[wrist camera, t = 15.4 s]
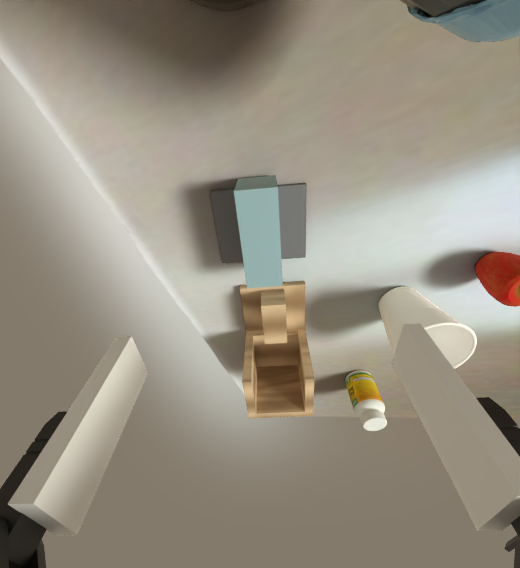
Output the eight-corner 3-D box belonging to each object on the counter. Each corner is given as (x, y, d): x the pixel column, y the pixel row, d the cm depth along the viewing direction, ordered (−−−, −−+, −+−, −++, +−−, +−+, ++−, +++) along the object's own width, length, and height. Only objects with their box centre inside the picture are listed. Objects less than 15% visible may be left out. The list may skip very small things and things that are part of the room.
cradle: (240, 285, 41) (233, 334, 32) (304, 280, 41) (316, 330, 32) (251, 363, 51) (249, 418, 42) (303, 360, 50) (312, 415, 41)
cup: (369, 330, 46) (396, 384, 37) (361, 285, 41) (390, 335, 32) (430, 315, 44) (474, 368, 35) (429, 266, 39) (481, 313, 30)
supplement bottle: (371, 384, 54) (391, 431, 46) (345, 387, 55) (359, 435, 47) (371, 367, 51) (391, 414, 43) (343, 371, 52) (358, 418, 44)
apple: (492, 284, 41) (534, 315, 35) (456, 277, 40) (492, 307, 34) (522, 248, 38) (574, 275, 31) (484, 239, 37) (530, 265, 31)
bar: (238, 178, 32) (233, 190, 27) (275, 175, 32) (277, 187, 27) (249, 265, 38) (247, 288, 33) (279, 263, 38) (282, 285, 33)
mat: (210, 190, 34) (209, 192, 33) (305, 182, 33) (306, 184, 32) (222, 260, 39) (222, 263, 38) (304, 254, 38) (305, 257, 38)
